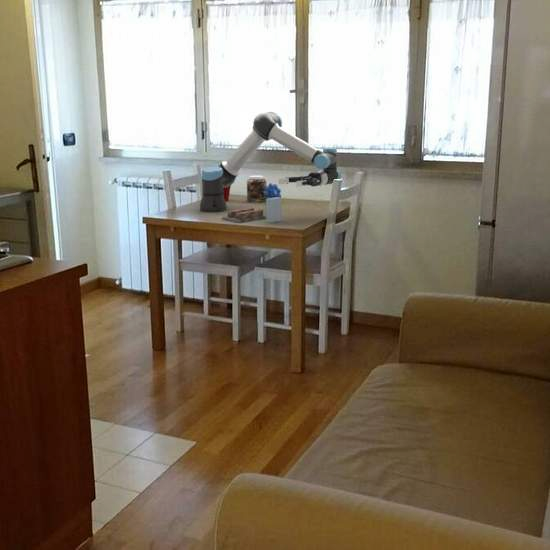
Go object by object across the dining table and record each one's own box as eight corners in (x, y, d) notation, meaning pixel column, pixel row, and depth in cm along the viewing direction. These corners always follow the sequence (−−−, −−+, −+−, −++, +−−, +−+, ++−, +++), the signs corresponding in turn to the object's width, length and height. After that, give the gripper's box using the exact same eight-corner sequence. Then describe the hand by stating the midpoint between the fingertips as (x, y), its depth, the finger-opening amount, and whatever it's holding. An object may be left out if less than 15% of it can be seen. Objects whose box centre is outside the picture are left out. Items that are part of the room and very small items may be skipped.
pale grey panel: (269, 222, 363) (269, 199, 360) (266, 222, 365) (266, 198, 362) (281, 220, 368) (281, 197, 365) (278, 220, 370) (277, 197, 367)
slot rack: (238, 222, 363) (238, 214, 362) (222, 219, 373) (222, 211, 372) (268, 217, 376) (268, 210, 375) (251, 214, 386) (251, 206, 385)
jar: (249, 199, 436) (249, 174, 432) (268, 199, 434) (268, 175, 430) (245, 202, 425) (244, 177, 421) (264, 203, 423) (263, 177, 419)
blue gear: (267, 205, 415) (267, 184, 412) (262, 203, 421) (261, 183, 418) (284, 203, 421) (284, 183, 418) (279, 201, 426) (278, 181, 423)
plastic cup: (230, 202, 426) (229, 182, 423) (212, 201, 428) (212, 181, 425) (234, 199, 436) (234, 179, 433) (217, 199, 438) (217, 179, 435)
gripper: (333, 188, 373) (304, 192, 360) (301, 183, 392) (272, 187, 378) (334, 173, 372) (304, 177, 358) (301, 169, 390) (271, 173, 376)
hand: (287, 182), depth 368 cm, fingers open, 13 cm apart
